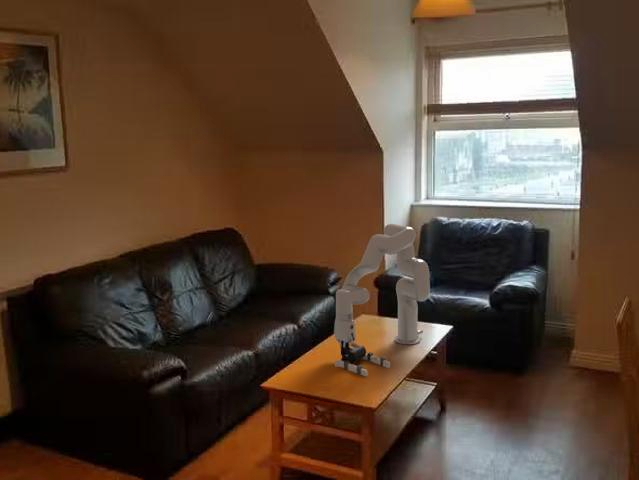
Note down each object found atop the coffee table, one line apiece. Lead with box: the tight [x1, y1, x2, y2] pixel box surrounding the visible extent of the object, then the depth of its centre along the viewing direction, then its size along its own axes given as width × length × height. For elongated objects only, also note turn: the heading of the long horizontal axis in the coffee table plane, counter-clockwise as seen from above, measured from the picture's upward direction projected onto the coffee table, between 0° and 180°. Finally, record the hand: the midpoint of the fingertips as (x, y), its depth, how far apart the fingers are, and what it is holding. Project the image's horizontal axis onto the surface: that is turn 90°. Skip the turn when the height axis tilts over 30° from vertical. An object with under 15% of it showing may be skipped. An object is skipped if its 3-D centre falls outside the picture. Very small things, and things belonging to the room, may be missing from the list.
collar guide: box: [334, 351, 391, 377], centre depth 298 cm, size 18×19×4 cm
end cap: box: [340, 342, 367, 365], centre depth 302 cm, size 10×7×7 cm
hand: (344, 354), depth 307 cm, fingers closed
